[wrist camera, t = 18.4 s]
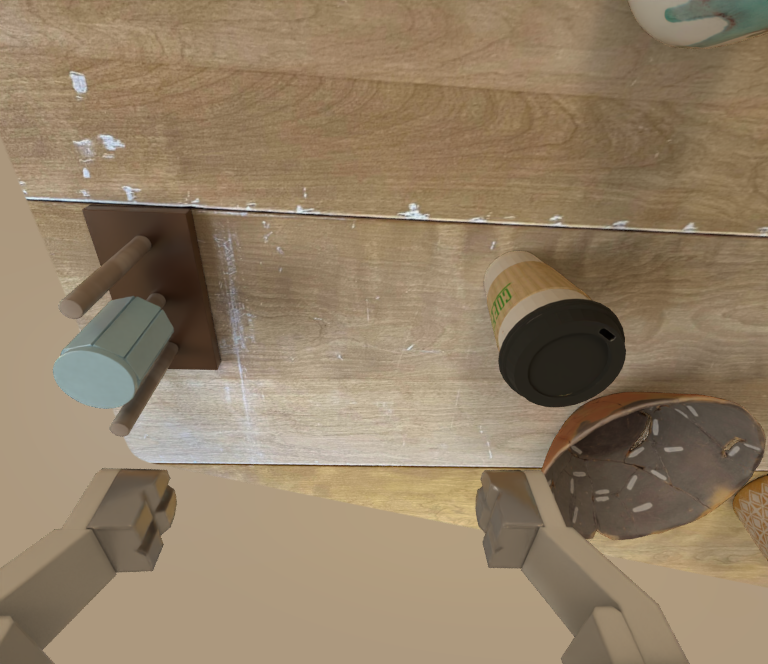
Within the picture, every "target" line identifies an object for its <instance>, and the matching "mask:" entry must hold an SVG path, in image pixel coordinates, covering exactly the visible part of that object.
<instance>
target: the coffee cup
mask: <svg viewBox="0 0 768 664" xmlns="http://www.w3.org/2000/svg"><path fill="white" fill-rule="evenodd" d="M484 287H485V291H486V295H487V304H488V309H489V314H490V318H491V322H492V326H493V331H494V335H495V339H496V343H497V348H498V350H499V360H498V362H499V369H500V372H501V374H502V376H503V378H504V380H505V381H506V382H507V384H508V385H509V386H510V387H511V388H512V389H513V390H514V391H515V392H517V393H518V394H519V395H522V396H523V397H525V398H526V399H527V400H528V401H530V402H533V403H535V404H537V405H541V406H545V407H565V406H570V405H575V404H578V403H581V402H584V401H586V400H588V399H590V398H592V397H594V396H596V395H597V394H599V393H600V392H602V391H603V390H605V389H606V388H607V387H608V386H609V385H610V384H611V383H612V382H613V381H614V380H615V378H616V377H617V376H618V374H619V373H620V371H621V369H622V367H623V364H624V361H625V355H626V349H625V336H624V332H623V327H622V326H621V323H620V321H619V320H618V318H617V316H616V315H615V314H614V313H613V312H612V311H611V310H610V309H609V308H608V307H606V306H604V305H603V304H601V303H598V302H595V301H593V300H592V299H591V298H590V297H589V296H588V295H586V294H585V293H584V292H583V291H581V290H580V289H579V288H577V287H576V286H575V285H574V284H572V283H571V282H570V281H569V280H567V279H566V278H565V277H563V276H562V275H561V274H560V273H558V272H557V271H556V270H554V269H553V268H552V267H550V266H549V265H547V264H545V263H543V262H542V261H541V260H539V259H538V258H537V257H536V256H534V255H533V254H531V253H529V252H526V251H511V252H507V253H505V254H503V255H501V256H499V257H498V258H496V259H495V260H494V261H493V262H492V263H491V264H490V266H489V267H488V269H487V271H486V273H485V276H484Z"/></svg>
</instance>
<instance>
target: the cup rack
mask: <svg viewBox="0 0 768 664" xmlns="http://www.w3.org/2000/svg"><path fill="white" fill-rule="evenodd" d="M82 211H83V214H84V217H85V220H86V223H87V226H88V229H89V232H90V235H91V238H92V241H93V244H94V247H95V250H96V253H97V256H98V259H99V262H100V265H101V267H100V268H98V269H97V270H96V271H95V272H94V273H93V274H91V275H90V276H89V277H88V278H87V279H86V280H84V281H83V282H82V283H81V284H80V285H79V286H78V287H76V288H75V289H74V290H73V291H72V292H71V293H69V294H68V295H67V296H66V297H65V298H64V299H62V300H61V301H60V302H59V305H58V306H59V310H60V312H61V313H62V314H63V315H65V316H66V317H68V318H72V319H78V318H80V317H82V316H83V315H84V314H85V313H86V312H87V311H88V310H89V309H90V308H91V307H92V306H93V305H94V304H95V303H96V302H97V301H98V300H99V299H100V298H101V297H102V296H103V295H104V294H105V293H106V292H107V291H108V290H109V291H110V294H111V297H112V300H116V299H121V298H126V297H131V296H135V297H136V296H137V297H140V298H142V299H144V300H146V301H148V302H150V303H153V304H155V305H157V306H159V307H161V310H162V309H163V310H164V312H165V314H166V315H167V317H168V319H169V321H170V322H171V324H172V326H173V328H174V332H173V334H172V336H171V339H170V341H169V343H168V345H167V347H166V348H165V350H164V351H163V353H162V354H161V356H160V358H159V359H158V361H157V362H156V364H155V365H154V367H153V368H152V370H151V372H150V373H149V375H148V376H147V378H146V379H145V381H144V382H143V384H142V386H141V387H140V389H139V390H138V392H137V393H136V395H135V396H134V398H133V399H131V400H130V401H129V402H128V403H126V404H125V405H123V407H122V408H121V410H120V411H119V413H118V414H117V416H116V418H115V419H114V421H113V422H112V424H111V425H110V431H111V432H112V433H113V434H115V435H117V436H126V435H128V434H129V433H130V431H131V429H132V428H133V426H134V424H135V423H136V421H137V419H138V417H139V416H140V414H141V412H142V411H143V409H144V407H145V406H146V404H147V402H148V401H149V399H150V397H151V396H152V394H153V392H154V391H155V389H156V387H157V386H158V384H159V382H160V381H161V379H162V377H163V376H164V374H165V372H166V370H167V369H200V370H218V367H219V365H220V363H221V359H220V354H219V349H218V344H217V339H216V334H215V329H214V324H213V319H212V313H211V308H210V303H209V298H208V293H207V288H206V283H205V278H204V272H203V267H202V262H201V257H200V252H199V247H198V242H197V237H196V232H195V226H194V221H193V216H192V211H191V209H189V208H163V207H138V206H112V205H89V206H88V207H86V208H84V209H83V210H82Z"/></svg>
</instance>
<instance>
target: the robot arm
mask: <svg viewBox="0 0 768 664" xmlns="http://www.w3.org/2000/svg"><path fill="white" fill-rule="evenodd" d="M169 480H170V476H169V474H168V471H167V470H151V469H113V468H111V469H110V468H109V469H108V468H102V469H101V470H100V471H99V472H98V473H96V474H95V476H94V477H93V479H92V481H91V482H90V484H89V485H88V487H87V489H86V490H85V492H84V493H83V495H82V497H81V498H80V500H79V501H78V503H77V505H76V506H75V508H74V509H73V511H72V513H71V514H70V516H69V517H68V519H67V520H66V522H65V524H64V525H63V527H62V528H61V529H54V530H53V531H52V532H50V533H49V534H47V535H46V536H45V537H43V538H42V539H40V540H39V541H38V542H36V543H35V544H34V545H32V546H31V547H29V548H28V549H27V550H25V551H24V552H22V553H21V554H20V555H18V556H17V557H16V558H14V559H13V560H12V561H10V562H9V563H7V564H6V565H4V566H3V567H2V568H0V664H54V663H53V661H52V660H50V658H49V657H48V656H47V655H46V654H45V653H44V652H43V651H42V650H43V649H44V648H45V647H46V646H47V645H48V644H49V643H50V642H51V641H52V640H53V639H54V638H55V637H56V636H57V634H58V633H60V632H61V630H62V629H64V627H65V626H66V625H67V624H68V623H69V622H70V621H71V620H72V619H73V618H74V617H75V616H76V615H77V614H78V613H79V612H80V611H81V610H82V609H83V608H84V607H85V606H86V605H87V604H88V603H89V602H90V601H91V600H92V599H93V598H94V597H95V596H96V595H97V594H98V593H99V592H100V591H101V590H102V589H103V588H104V587H105V586H106V584H108V583H109V582H110V581H111V580H112V578H114V577H115V575H116V572H139V571H153V569H154V567H155V564H156V562H157V559H158V557H159V554H160V552H161V550H162V547H163V545H164V544H163V542H162V538H161V535H162V534H163V533H164V532H165V531H167V530H168V529H169V528H170V527H171V524H172V522H173V519H174V516H175V511H176V505H177V501H176V494H175V490H174V489H173V488H171V487H170V486H169V485H168V483H169ZM481 483H482V487H481V488H480V489H478V490H477V495H476V516H477V521H478V525H479V527H480V528H481V529H482V530H483V531H484V532H485V536H484V540H483V546H484V550H485V554H486V559H487V563H488V567H489V568H522V569H521V571H522V572H523V573H524V574H525V575H526V577H527V578H528V579H529V580H530V582H531V583H532V584H533V586H534V587H535V588H536V589H537V591H538V592H539V593H540V594H541V595H542V597H543V598H544V599H545V600H546V602H547V603H548V604H549V605H550V607H551V608H552V609H553V610H554V612H555V613H556V614H557V615H558V617H559V618H560V619H561V620H562V621H563V623H564V624H565V625H566V627H567V628H568V629H569V630H570V632H571V633H572V634H573V635H574V637H575V638H574V639H573V641H572V642H571V644H570V645H569V647H568V648H567V650H566V651H565V653H564V654H563V656H562V658H561V660H562V663H563V664H689V662H688V660H687V658H686V656H685V654H684V652H683V650H682V649H681V647H680V645H679V643H678V641H677V639H676V637H675V635H674V633H673V631H672V629H671V627H670V625H669V624H668V622H667V620H666V618H665V616H664V614H663V612H662V610H661V608H660V606H659V604H658V603H656V602H655V601H654V600H653V599H652V598H651V597H650V596H648V595H647V594H646V593H645V592H644V591H643V590H642V589H641V588H640V587H639V586H637V585H636V584H635V583H634V582H633V581H632V580H631V579H629V578H628V577H627V576H626V575H625V574H624V573H623V572H622V571H621V570H619V569H618V568H617V567H616V566H615V565H614V564H613V563H612V562H611V561H609V560H608V559H607V558H606V557H605V556H604V555H603V554H602V553H600V552H599V551H598V550H597V549H596V548H595V547H594V546H593V545H592V544H590V543H589V542H588V541H587V540H586V539H585V538H584V537H583V536H581V535H580V534H579V533H578V532H577V531H576V530H575V529H574V528H572V527H566V524H565V522H564V520H563V517H562V515H561V513H560V510H559V508H558V506H557V503H556V501H555V499H554V496H553V494H552V492H551V489H550V487H549V484H548V482H547V480H546V477H545V475H544V473H543V472H542V471H539V470H524V471H521V470H485V471H484V472H483V473H482V476H481Z"/></svg>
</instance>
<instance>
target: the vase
mask: <svg viewBox="0 0 768 664" xmlns="http://www.w3.org/2000/svg"><path fill="white" fill-rule="evenodd" d="M628 4H629V7H630V10H631V12H632V14H633V16H634V18H635V20H636V21H637V22H638V24H639V25H640V26H641V28H642V29H643V30H644V31H645V32H646V33H647V34H648V35H650V36H651V37H652V38H654V39H656V40H658V41H659V42H661V43H663V44H666V45H668V46H671V47H675V48H686V49H708V48H716V47H721V46H726V45H730V44H734V43H738V42H742V41H745V40H748V39H751V38H755V37H758V36H761V35H764V34H767V33H768V0H628Z"/></svg>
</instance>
